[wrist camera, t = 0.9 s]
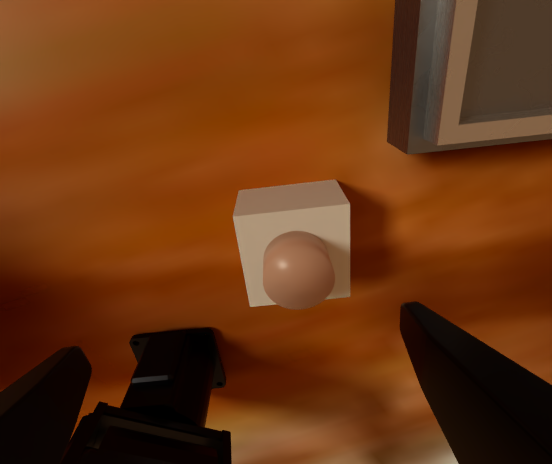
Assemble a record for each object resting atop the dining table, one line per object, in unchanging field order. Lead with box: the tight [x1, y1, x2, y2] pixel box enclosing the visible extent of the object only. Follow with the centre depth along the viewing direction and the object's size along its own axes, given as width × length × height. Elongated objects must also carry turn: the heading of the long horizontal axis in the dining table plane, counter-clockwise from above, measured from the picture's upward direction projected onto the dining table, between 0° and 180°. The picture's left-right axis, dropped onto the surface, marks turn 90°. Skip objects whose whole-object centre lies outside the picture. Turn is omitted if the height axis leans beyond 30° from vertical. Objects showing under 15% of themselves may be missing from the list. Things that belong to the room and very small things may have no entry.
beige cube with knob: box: [233, 180, 350, 309], centre depth 19 cm, size 6×6×6 cm
